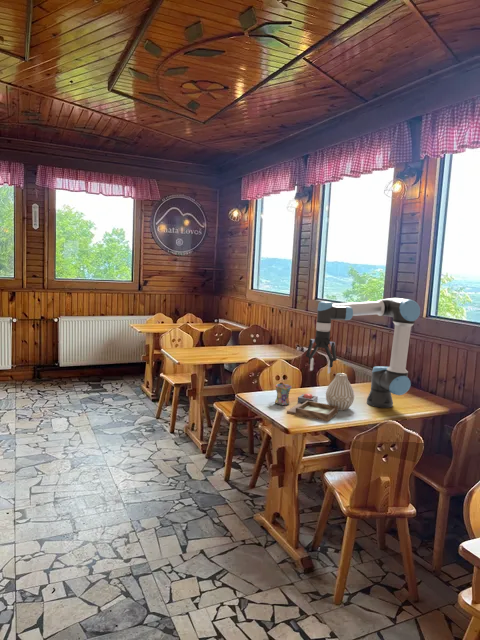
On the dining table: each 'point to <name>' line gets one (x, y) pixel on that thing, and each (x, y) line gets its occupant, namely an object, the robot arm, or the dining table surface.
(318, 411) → the wooden tray
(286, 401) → the mug
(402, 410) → the dining table surface
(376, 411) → the dining table surface
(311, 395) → the button
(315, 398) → the button box
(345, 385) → the vase
